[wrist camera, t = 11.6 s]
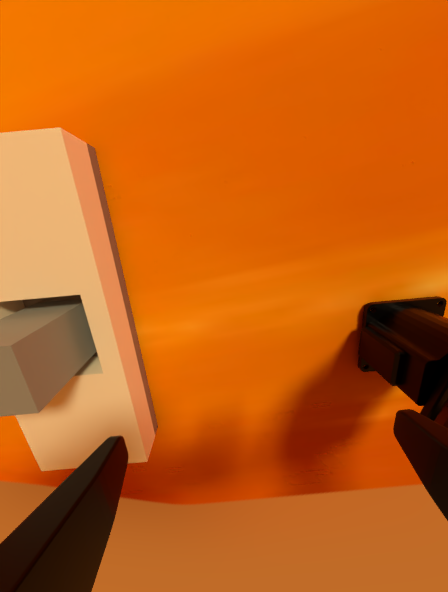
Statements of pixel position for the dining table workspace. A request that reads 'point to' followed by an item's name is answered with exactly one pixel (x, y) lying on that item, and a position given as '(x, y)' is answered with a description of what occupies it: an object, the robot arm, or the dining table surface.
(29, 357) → the plug
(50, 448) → the cream socket panel
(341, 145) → the dining table surface
